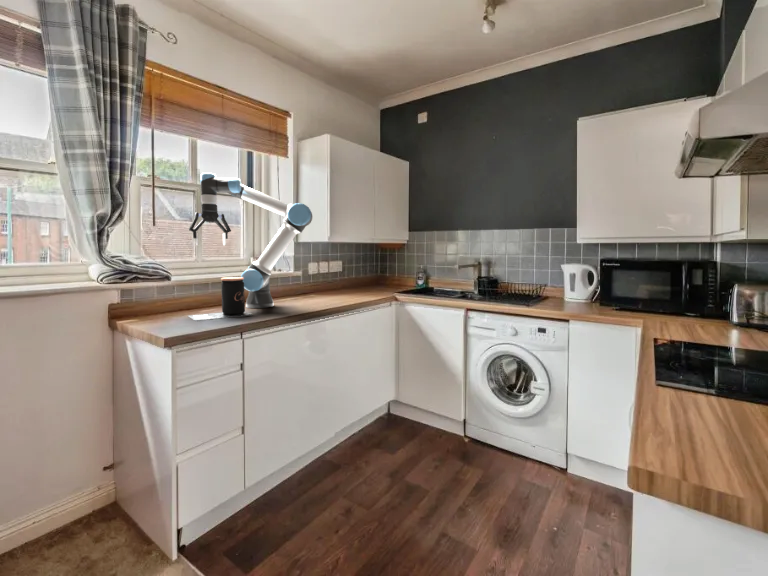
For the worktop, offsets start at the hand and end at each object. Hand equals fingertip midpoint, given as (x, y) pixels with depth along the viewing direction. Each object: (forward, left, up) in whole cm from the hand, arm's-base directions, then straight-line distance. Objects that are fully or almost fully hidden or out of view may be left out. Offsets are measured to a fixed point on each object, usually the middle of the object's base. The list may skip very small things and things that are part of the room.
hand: (211, 245), depth 203 cm
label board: (+2, +19, -35) cm, 39 cm away
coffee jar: (-5, +19, -34) cm, 40 cm away
